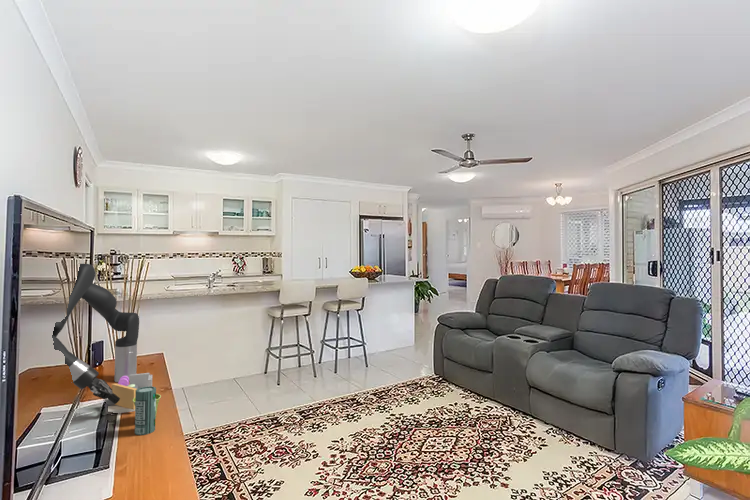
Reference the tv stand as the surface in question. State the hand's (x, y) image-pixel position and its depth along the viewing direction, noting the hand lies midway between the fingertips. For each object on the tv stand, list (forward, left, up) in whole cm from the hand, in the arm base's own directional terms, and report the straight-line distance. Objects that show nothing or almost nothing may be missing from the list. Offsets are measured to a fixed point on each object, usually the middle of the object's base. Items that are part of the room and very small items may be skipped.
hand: (118, 401), depth 157 cm
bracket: (-29, +4, -6) cm, 29 cm away
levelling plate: (-13, +3, -6) cm, 14 cm away
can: (+19, +10, -6) cm, 23 cm away
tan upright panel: (-6, +1, -4) cm, 7 cm away
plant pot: (+9, +10, -6) cm, 15 cm away
